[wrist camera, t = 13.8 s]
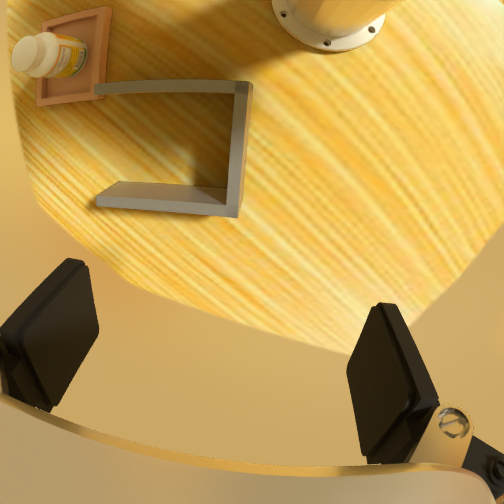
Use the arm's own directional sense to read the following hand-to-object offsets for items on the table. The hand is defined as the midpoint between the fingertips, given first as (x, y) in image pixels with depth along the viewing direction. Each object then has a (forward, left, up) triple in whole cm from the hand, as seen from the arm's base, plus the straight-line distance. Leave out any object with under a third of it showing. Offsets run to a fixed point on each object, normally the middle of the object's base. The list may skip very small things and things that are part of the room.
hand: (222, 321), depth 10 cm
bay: (-2, -9, -28) cm, 30 cm away
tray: (-13, -24, -28) cm, 39 cm away
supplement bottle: (-13, -24, -28) cm, 39 cm away
